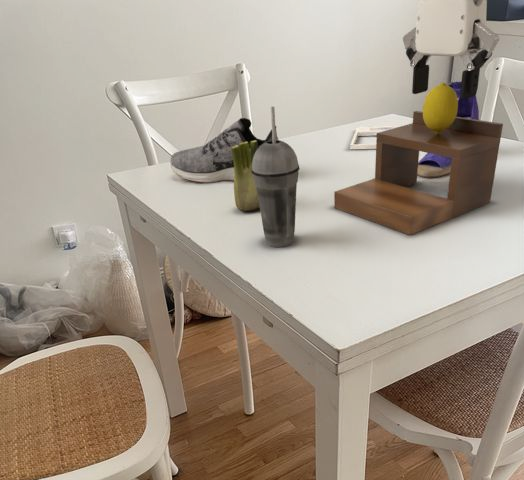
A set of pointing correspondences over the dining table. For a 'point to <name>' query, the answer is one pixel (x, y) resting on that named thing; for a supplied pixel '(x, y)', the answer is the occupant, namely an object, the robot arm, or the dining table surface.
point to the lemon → (440, 108)
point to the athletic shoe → (215, 155)
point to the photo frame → (368, 132)
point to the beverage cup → (276, 188)
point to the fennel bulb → (244, 176)
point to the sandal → (440, 164)
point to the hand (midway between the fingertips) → (443, 94)
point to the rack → (406, 167)
